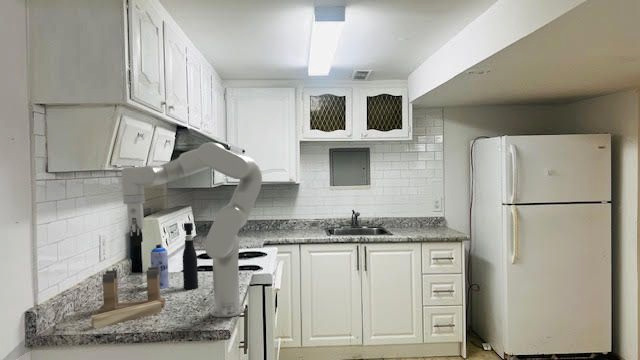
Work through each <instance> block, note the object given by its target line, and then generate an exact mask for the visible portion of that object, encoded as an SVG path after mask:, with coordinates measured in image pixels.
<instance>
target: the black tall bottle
mask: <svg viewBox="0 0 640 360" xmlns="http://www.w3.org/2000/svg"><path fill="white" fill-rule="evenodd" d="M193 224H194V223H193V222H185V223H183V228H184V229H183V231H184V232H185V240H184V248H183V253H182V272H183V273H182V274H183V275H182V276H183V278H182V279H183V290H186V291H193V290H197V289H199V277H198V273H199V271H198V255H197V251H196V249H195V246H194V239H193V235H192V234H193V233H192V231H194V225H193ZM196 288H197V289H196ZM192 289H193V290H192Z"/></svg>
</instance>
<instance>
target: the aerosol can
mask: <svg viewBox="0 0 640 360" xmlns="http://www.w3.org/2000/svg"><path fill="white" fill-rule="evenodd" d="M168 256H169V255H168V250H167V249H166V248H165V247H163V246H162V244H160V243H159V244H156V245H155V247H154V248H153V249H152V250H151V251H150V267H158V266H159V285H160V290H163V289H167V288H169V287H170V282H169V264H168V262H169V261H168V260H169V257H168Z"/></svg>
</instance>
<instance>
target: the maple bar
mask: <svg viewBox="0 0 640 360" xmlns="http://www.w3.org/2000/svg"><path fill="white" fill-rule="evenodd" d="M158 313H162V307H161V302H159V301H153V302H148V303H144V304H140V305H136V306H131V307H127V308H123V309H119V310H114V311H110V312H106V313H102V314H95V315H91V316H90V321H91V327H92V328H93V327H94V329H95V328H96V329H100V328H103V327H108V326H111V325H116V324H119V323H123V322H128V321H131V320H135V319H139V318H143V317H148V316H151V315H155V314H158ZM99 327H100V328H99Z"/></svg>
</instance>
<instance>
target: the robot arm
mask: <svg viewBox="0 0 640 360" xmlns="http://www.w3.org/2000/svg"><path fill="white" fill-rule="evenodd" d="M209 169H212V170H213V171H216V172H218V173H220V174H222V175H224V176H226V177H229V178H231V179H233V180H234V179H235V180H238V181H239V182H238V184H237V186H236V188H235V189H234V192H233V194H232V197H231V199H230V201H229V202H228V204H227V205H225V206H223V207H222V208H221V209H219V211H218V212H217V214H216V216H215V218H214V220H213V223H212V225H211V226H210V229H209V231H208V233H207V236H206V238H205V242H204V251H205V253H206V255H207V256H208V257H210V258H211V259H212V281H213V282H212V283H213V285H212V286H213V305H214V306H213V307H212V308H211V309H210V310H209V311H210V312H209V313H210V315H211V316H212V317H216V318H229V317H235V316H238V315H241V314H242V313H244V312H245V307H244V306H243V304H242V305H241V299H240V298H241V297H240V296H241V295H240V277H239V275H240V274H239V273H240V271H239V269H240V268H239V249H240V240H239V237H238V234H239V231H240V229H241V228H243V226H245V225H246V224H247V222H248V219H249V217H250V214H251V212H252V210H253V207H254V205H255V203H256V200H257V197H258V196H259V193H260V191H261V187H262V185H263V184H262V182H263V177H262V176H263V175H262V171H261V168H260V166H259V165H258V163H257V162H256V161H255V160H254V159H252V158H251V157H249V156H246V155H239V154H237V153H234V152H232V151H230V150H227V149H226V147H224V146H223V145H222V144H220V143H217V142H211V141H210V142H205V143H202V144H200V146H199V147H198V148H195V149H191V150H188V151H186V152H185V151H184V152H183V153H181V154H179V157H177V158H176V159H174V160H172V161H168V162H166V163H162V164H159V165H145V166H144V165H143V166H136V167H134V166H133V167H131V166H130V167H123V168H122V169H121V186H122V200H123V205H126V208H127V209H126V210H127V222H128V229H129V231H130V246H131V247H139V246H141V245H142V244H141V243H143V242H144V241H143V240H144V239H143V238H144V237H143V231H142V230H143V229H144V228H145V225H146V224H145V217H144V206H143V204H145V203H146V199H145V186H146V187H147V186H149V187H150V186H158V185H159V186H160V185H163V184H167V183H170V182H173V181H176V180H179V179H181V178H184V177H188V176H191V175H194V174H196V173H199V172H202V171H205V170H209Z"/></svg>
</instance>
